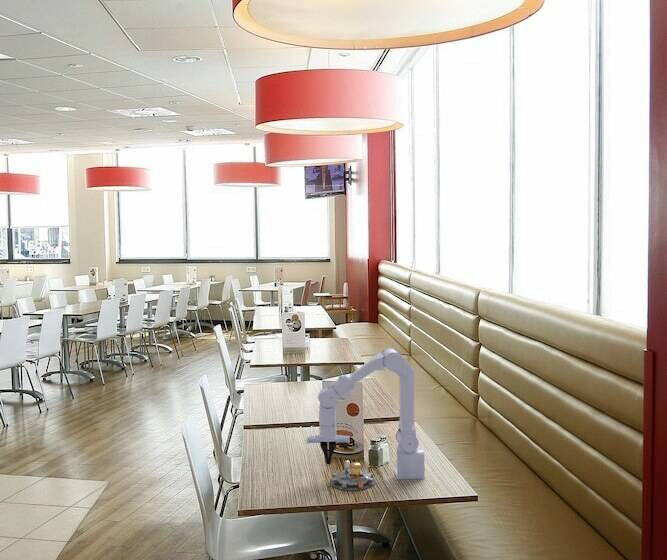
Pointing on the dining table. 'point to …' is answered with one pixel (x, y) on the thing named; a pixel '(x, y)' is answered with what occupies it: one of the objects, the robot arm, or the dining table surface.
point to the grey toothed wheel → (347, 481)
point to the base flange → (352, 487)
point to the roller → (355, 470)
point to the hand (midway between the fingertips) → (328, 463)
